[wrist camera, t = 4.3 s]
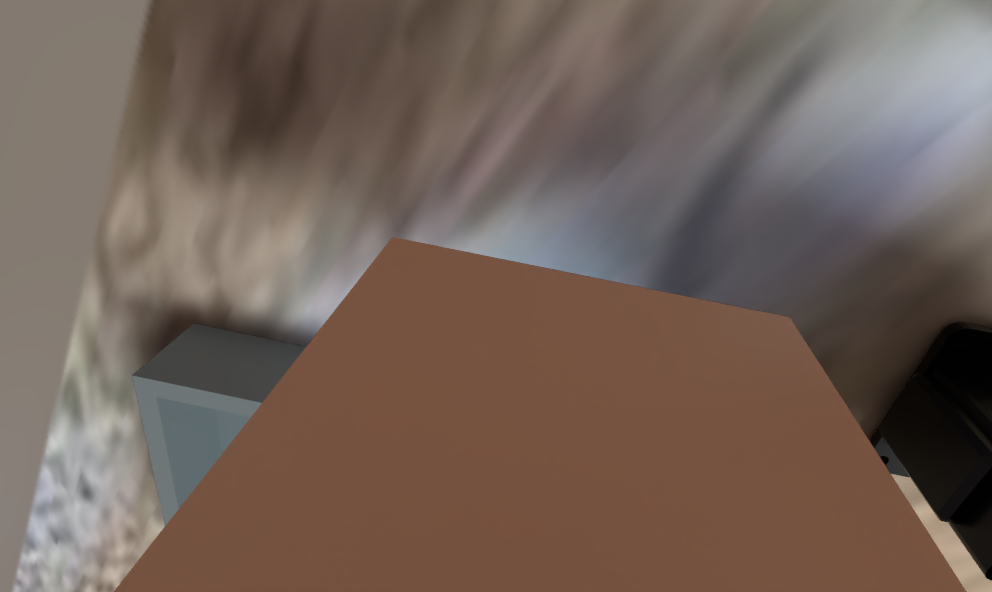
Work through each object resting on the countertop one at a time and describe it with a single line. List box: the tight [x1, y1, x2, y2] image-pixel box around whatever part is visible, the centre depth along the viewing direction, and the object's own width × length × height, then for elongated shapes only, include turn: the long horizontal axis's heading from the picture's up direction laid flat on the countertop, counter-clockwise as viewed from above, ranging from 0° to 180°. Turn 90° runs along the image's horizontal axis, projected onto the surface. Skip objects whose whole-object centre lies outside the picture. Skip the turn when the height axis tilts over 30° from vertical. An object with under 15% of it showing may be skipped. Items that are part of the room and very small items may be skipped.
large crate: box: [132, 324, 306, 526], centre depth 25 cm, size 13×13×4 cm
